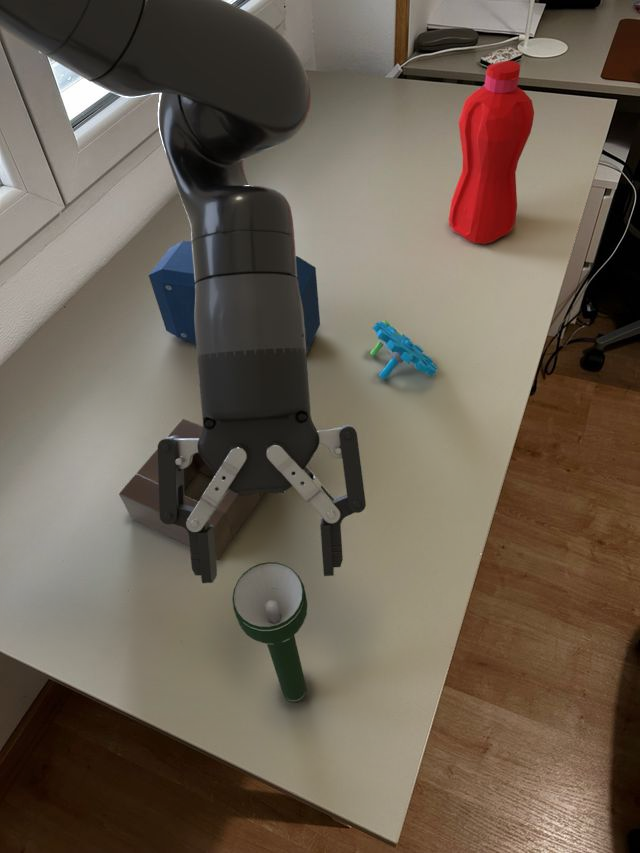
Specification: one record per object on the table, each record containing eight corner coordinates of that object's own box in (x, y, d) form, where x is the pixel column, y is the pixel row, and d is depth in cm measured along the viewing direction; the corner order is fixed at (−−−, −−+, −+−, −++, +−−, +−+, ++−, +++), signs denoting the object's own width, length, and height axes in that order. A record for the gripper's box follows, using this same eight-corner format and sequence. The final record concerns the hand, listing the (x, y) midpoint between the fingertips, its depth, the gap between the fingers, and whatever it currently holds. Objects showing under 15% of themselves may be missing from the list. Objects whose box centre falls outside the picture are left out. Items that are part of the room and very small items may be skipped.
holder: (217, 560, 69) (208, 536, 65) (131, 519, 73) (118, 493, 69) (274, 478, 75) (269, 452, 71) (192, 445, 79) (183, 418, 76)
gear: (453, 377, 81) (400, 347, 76) (423, 412, 84) (369, 385, 78) (415, 333, 89) (365, 303, 84) (389, 366, 92) (337, 338, 86)
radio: (323, 325, 92) (313, 196, 77) (304, 367, 87) (289, 238, 72) (191, 303, 97) (158, 179, 82) (165, 342, 92) (124, 216, 77)
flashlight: (312, 656, 61) (292, 551, 46) (330, 709, 58) (315, 614, 43) (261, 674, 61) (223, 574, 45) (276, 729, 57) (241, 640, 42)
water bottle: (474, 202, 110) (495, 41, 91) (521, 230, 104) (554, 64, 85) (432, 222, 107) (445, 60, 88) (479, 252, 101) (503, 84, 82)
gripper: (133, 353, 41) (156, 601, 42) (356, 337, 41) (372, 587, 42) (164, 356, 49) (182, 567, 50) (352, 343, 48) (366, 555, 49)
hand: (269, 576), depth 46 cm, fingers open, 8 cm apart
